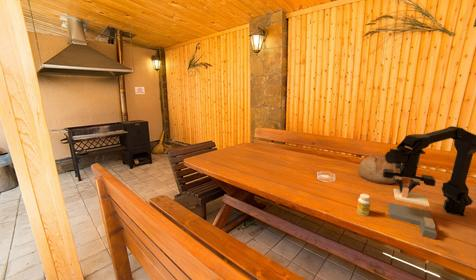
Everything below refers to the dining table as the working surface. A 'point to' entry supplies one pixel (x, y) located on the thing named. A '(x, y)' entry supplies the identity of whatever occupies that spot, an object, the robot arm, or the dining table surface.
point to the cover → (410, 196)
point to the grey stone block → (428, 223)
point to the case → (411, 217)
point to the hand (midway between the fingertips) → (403, 193)
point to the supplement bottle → (363, 205)
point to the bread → (376, 169)
